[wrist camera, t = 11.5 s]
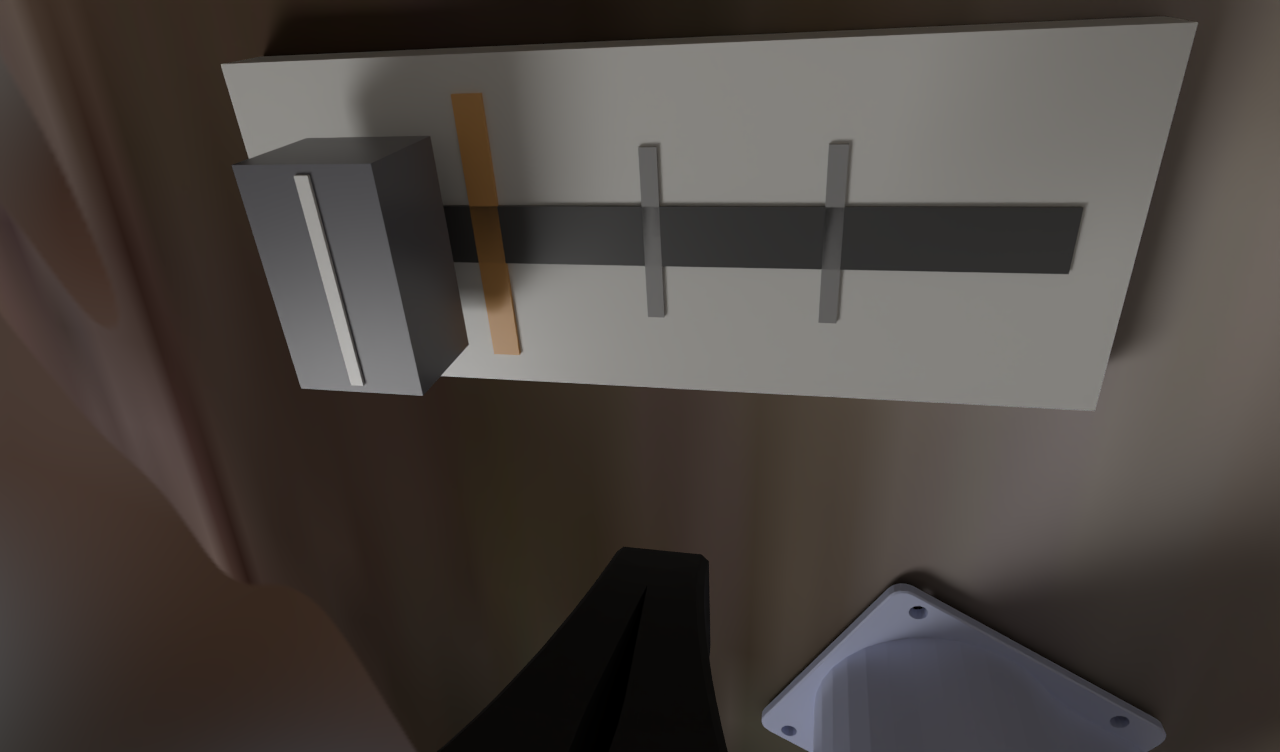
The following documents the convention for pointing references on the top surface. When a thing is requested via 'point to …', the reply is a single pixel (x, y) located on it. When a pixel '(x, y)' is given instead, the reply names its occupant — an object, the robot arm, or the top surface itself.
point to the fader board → (777, 200)
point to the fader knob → (357, 260)
